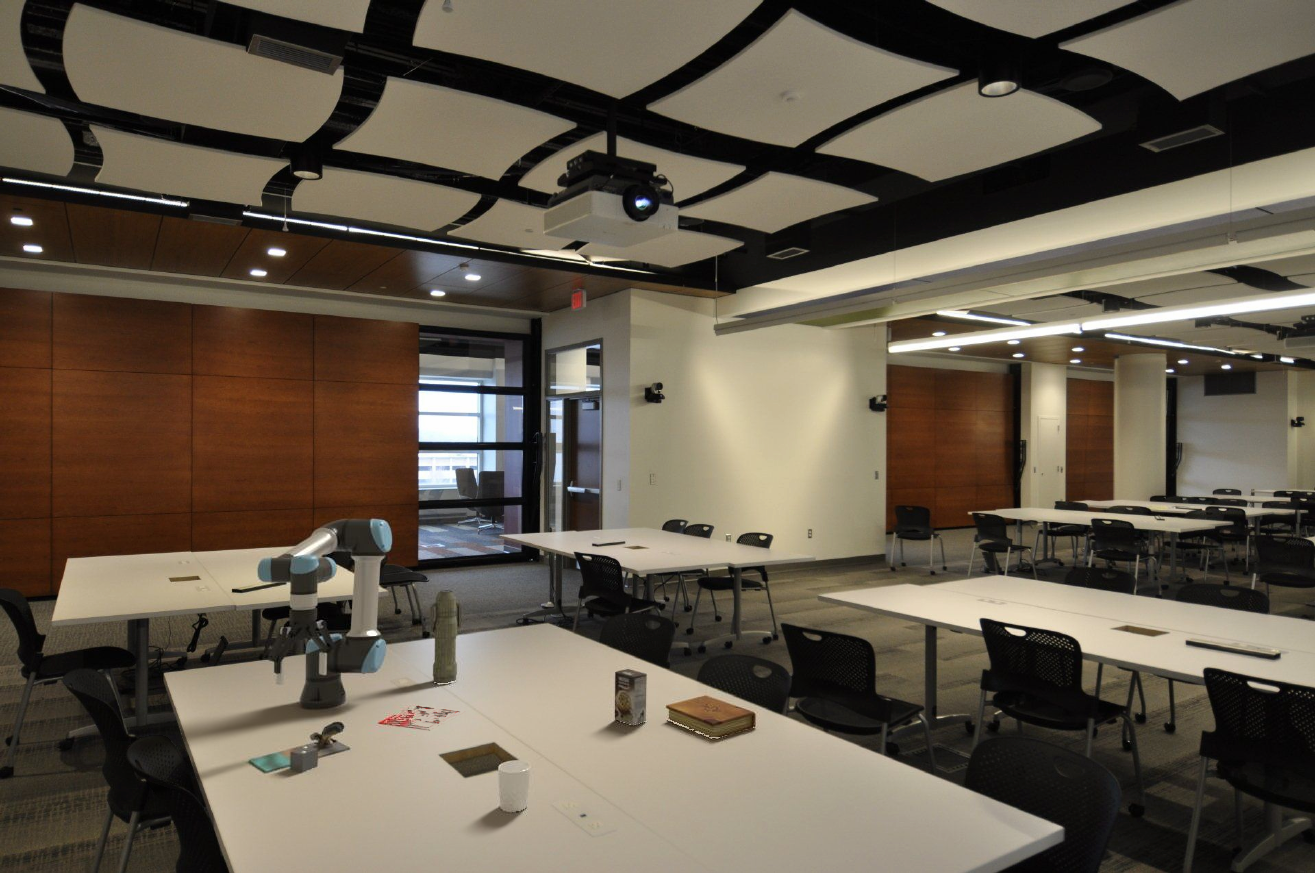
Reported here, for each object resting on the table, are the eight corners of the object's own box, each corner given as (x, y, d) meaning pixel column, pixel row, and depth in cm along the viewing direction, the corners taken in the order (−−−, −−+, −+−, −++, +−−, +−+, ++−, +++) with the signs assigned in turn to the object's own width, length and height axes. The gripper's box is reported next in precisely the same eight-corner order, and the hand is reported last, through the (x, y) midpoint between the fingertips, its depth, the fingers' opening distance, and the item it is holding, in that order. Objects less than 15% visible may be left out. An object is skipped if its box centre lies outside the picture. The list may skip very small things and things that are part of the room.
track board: (330, 739, 243) (330, 737, 243) (349, 749, 235) (350, 747, 235) (248, 761, 225) (248, 759, 225) (266, 772, 217) (266, 770, 217)
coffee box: (613, 720, 262) (614, 671, 262) (627, 716, 266) (627, 667, 267) (633, 727, 256) (633, 676, 256) (647, 722, 260) (647, 672, 261)
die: (305, 763, 224) (305, 745, 224) (317, 766, 222) (317, 748, 222) (290, 769, 219) (290, 750, 219) (302, 772, 217) (302, 753, 217)
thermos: (464, 681, 307) (465, 590, 308) (435, 687, 299) (436, 594, 300) (453, 676, 314) (455, 588, 315) (425, 681, 306) (426, 591, 307)
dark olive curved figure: (336, 747, 231) (350, 731, 240) (322, 728, 231) (336, 712, 240) (316, 759, 232) (331, 743, 241) (302, 740, 232) (317, 724, 241)
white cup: (499, 800, 200) (500, 760, 200) (531, 799, 201) (531, 759, 201) (496, 814, 192) (496, 772, 192) (528, 813, 193) (529, 771, 193)
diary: (755, 729, 256) (755, 711, 256) (713, 742, 244) (713, 723, 244) (707, 710, 274) (707, 694, 274) (665, 722, 262) (666, 704, 262)
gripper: (333, 600, 249) (332, 668, 248) (255, 612, 228) (253, 686, 227) (348, 602, 245) (346, 672, 244) (270, 615, 224) (268, 690, 223)
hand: (301, 679), depth 236 cm, fingers open, 13 cm apart
